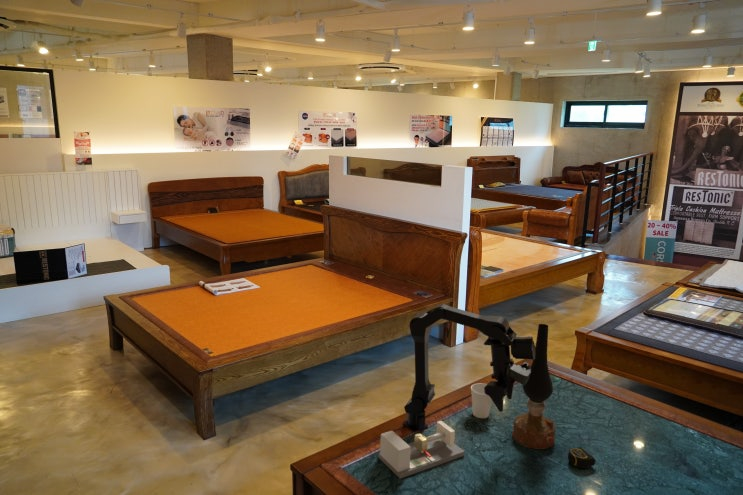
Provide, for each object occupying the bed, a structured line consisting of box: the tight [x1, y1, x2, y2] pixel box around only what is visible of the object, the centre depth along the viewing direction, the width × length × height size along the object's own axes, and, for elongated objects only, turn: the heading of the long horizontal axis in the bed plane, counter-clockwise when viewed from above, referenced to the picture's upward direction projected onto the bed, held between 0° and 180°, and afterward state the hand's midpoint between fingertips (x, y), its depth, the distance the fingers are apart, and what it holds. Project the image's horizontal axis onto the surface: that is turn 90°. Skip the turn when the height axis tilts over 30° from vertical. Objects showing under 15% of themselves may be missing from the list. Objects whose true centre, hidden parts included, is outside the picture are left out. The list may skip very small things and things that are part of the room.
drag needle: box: [413, 433, 431, 457], centre depth 167 cm, size 7×2×4 cm, turn 31°
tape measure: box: [567, 446, 596, 469], centre depth 168 cm, size 7×7×4 cm
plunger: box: [424, 420, 456, 447], centre depth 171 cm, size 7×9×5 cm
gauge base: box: [377, 430, 465, 479], centre depth 169 cm, size 12×24×8 cm, turn 121°
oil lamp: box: [511, 323, 556, 450], centre depth 179 cm, size 14×15×40 cm
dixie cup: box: [470, 382, 493, 419], centre depth 195 cm, size 8×8×10 cm
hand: (505, 405), depth 173 cm, fingers open, 9 cm apart
